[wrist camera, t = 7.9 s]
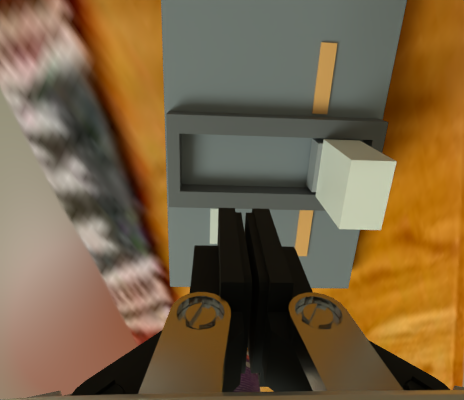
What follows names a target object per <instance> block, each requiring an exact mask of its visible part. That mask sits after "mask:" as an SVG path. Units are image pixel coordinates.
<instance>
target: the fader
mask: <svg viewBox="0 0 464 400" xmlns="http://www.w3.org/2000/svg"><path fill="white" fill-rule="evenodd" d="M396 162H397V161H395V160H393V159H391V158H390V157H388V156H386V155H384V154H383V153H381V152H379V151H377V150H376V149H374V148H372V147H370V146H368V145H367V144H365V143H363V142H361V141H359V140H341V139H312V144H311V151H310V159H309V167H308V174H307V182H306V185H307V186H308V188H309V189H310V190H311V192H316V198H317V199H318V201H319V202H320V203H321V205H322V206H323V208H324V209H325V210H326V212H327V213H328V214H329V216H330V217H331V219H332V220H333V221H334V223H335V224H336V226H337V227H338V228H339V229H355V230H381V227H382V223H383V218H384V214H385V210H386V205H387V201H388V197H389V192H390V188H391V184H392V179H393V175H394V171H395V166H396Z"/></svg>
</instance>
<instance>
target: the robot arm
mask: <svg viewBox="0 0 464 400" xmlns="http://www.w3.org/2000/svg"><path fill="white" fill-rule="evenodd" d="M247 347H248V354H249V363H250V371H251V373H258V380H259V387H269V388H270V389H272V390H273V391H274V392H233V391H234V390H235V389H236V388H237V387H238V386H239V385H240V380H241V374H245V371H246V359H247ZM1 400H464V387H459V386H454V388H453V390H450V389H449V388H448V387H447V386H446V385H445V384H443V383H442V382H440V381H439V380H438V379H436V378H435V377H433V376H431V375H429V374H428V373H426V372H424V371H422V370H421V369H419V368H417V367H415V366H413V365H412V364H410V363H408V362H406V361H404V360H403V359H401V358H399V357H397V356H396V355H394V354H392V353H390V352H388V351H387V350H385V349H383V348H381V347H380V346H378V345H376V344H374V343H372V342H371V341H369V340H368V339H367V338H366V337H365V335H364V334H363V332H362V331H361V330H360V328H359V327H358V325H357V324H356V323H355V321H354V320H353V318H352V317H351V316H350V314H349V313H348V311H347V310H346V309H345V308H344V306H343V305H342V304H341V303H340V302H338V301H337V300H335V299H334V298H332V297H329V296H327V295H324V294H319V293H313V292H312V289H311V287H310V284H309V282H308V279H307V277H306V274H305V272H304V269H303V267H302V264H301V262H300V259H299V257H298V254H297V252H296V249H295V248H294V247H286V246H281V243H280V240H279V237H278V234H277V231H276V228H275V225H274V222H273V219H272V216H271V213H270V210H269V209H260V208H252V213H247V212H246V216H245V231H244V226H243V220H242V214H241V212H235V208H219V212H218V244H217V246H209V245H195V246H194V256H193V266H192V275H191V285H190V294H187V295H185V296H183V297H181V298H179V299H178V300H177V301H176V302H175V303H174V304H173V306H172V308H171V310H170V312H169V315H168V317H167V320H166V323H165V325H164V328H163V330H162V331H160V332H159V333H157V334H156V335H154V336H153V337H151V338H150V339H148V340H147V341H145V342H144V343H142V344H141V345H139V346H138V347H136V348H135V349H133V350H132V351H130V352H129V353H127V354H126V355H124V356H122V357H121V358H119V359H118V360H116V361H115V362H113V363H112V364H110V365H109V366H107V367H106V368H104V369H103V370H101V371H100V372H98V373H97V374H95V375H94V376H92V377H91V378H89V379H88V380H86V381H85V382H84V383H82V384H81V385H80V386H79V387H77V388H76V389H75V391H74V392H73V393H72V394H69V395H64V396H62V395H61V391H56V392H51V393H46V394H42V395H37V396H32V397H27V398H17V399H1Z"/></svg>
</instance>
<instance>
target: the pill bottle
mask: <svg viewBox="0 0 464 400" xmlns="http://www.w3.org/2000/svg"><path fill="white" fill-rule="evenodd" d="M233 392H260V387H259V380H258V373H251V371H250V363H249V354H248V351H247V359H246V371H245V374H241V380H240V385H239V386H238V387H237V388H236V389H235V390H234V391H233Z"/></svg>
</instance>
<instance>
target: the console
mask: <svg viewBox="0 0 464 400" xmlns="http://www.w3.org/2000/svg"><path fill="white" fill-rule="evenodd" d="M406 2H407V0H161V8H162V41H163V73H164V106H165V138H166V171H167V203H168V236H169V268H170V287H190V285H191V275H192V266H193V256H194V246H195V245H209V246H217V244H218V212H219V208H235V212H241V214H242V220H243V226H244V231H245V216H246V212H247V213H252V208H260V209H269V210H270V213H271V216H272V219H273V222H274V225H275V228H276V231H277V234H278V237H279V240H280V243H281V246H286V247H294V248H295V249H296V252H297V254H298V257H299V259H300V262H301V264H302V267H303V269H304V272H305V274H306V277H307V279H308V282H309V284H310V287H311V288H348V286H349V281H350V276H351V271H352V266H353V261H354V256H355V252H356V247H357V242H358V237H359V232H360V230H355V229H339V228H338V227H337V226H336V224H335V223H334V221H333V220H332V219H331V217H330V216H329V214H328V213H327V212H326V210H325V209H324V208H323V206H322V205H321V203H320V202H319V201H318V199H317V198H316V192H311V190H310V189H309V188H308V186H307V185H306V182H307V174H308V167H309V159H310V151H311V144H312V139H341V140H359V141H361V142H363V143H365V144H367V145H368V146H370V147H372V148H374V149H376V150H377V151H379V152H381V153H382V150H383V146H384V141H385V136H386V131H387V127H388V122H386V121H384V120H382V119H383V115H384V110H385V105H386V100H387V95H388V90H389V85H390V80H391V75H392V71H393V66H394V61H395V56H396V51H397V46H398V41H399V36H400V31H401V27H402V22H403V17H404V12H405V7H406Z"/></svg>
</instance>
